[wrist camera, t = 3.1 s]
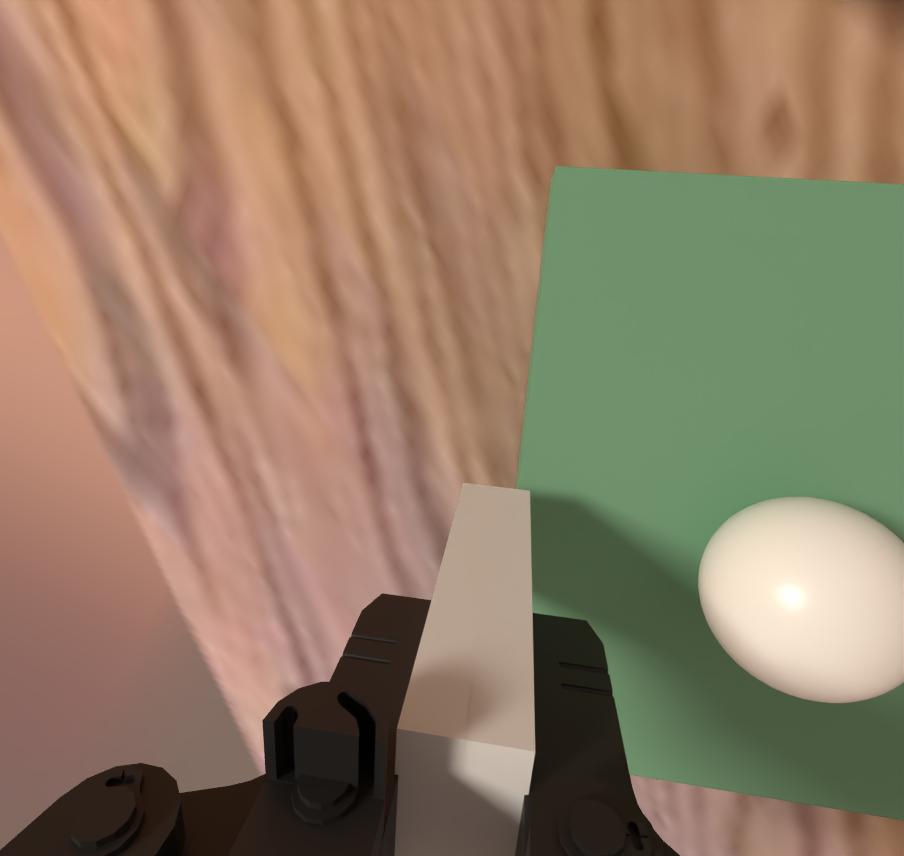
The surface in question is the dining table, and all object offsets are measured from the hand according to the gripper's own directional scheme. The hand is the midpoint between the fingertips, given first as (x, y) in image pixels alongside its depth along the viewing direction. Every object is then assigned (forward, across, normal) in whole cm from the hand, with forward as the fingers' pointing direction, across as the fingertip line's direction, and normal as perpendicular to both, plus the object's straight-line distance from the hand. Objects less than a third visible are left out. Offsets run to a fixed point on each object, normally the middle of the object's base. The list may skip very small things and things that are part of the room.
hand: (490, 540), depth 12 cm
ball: (+1, +6, 0) cm, 7 cm away
